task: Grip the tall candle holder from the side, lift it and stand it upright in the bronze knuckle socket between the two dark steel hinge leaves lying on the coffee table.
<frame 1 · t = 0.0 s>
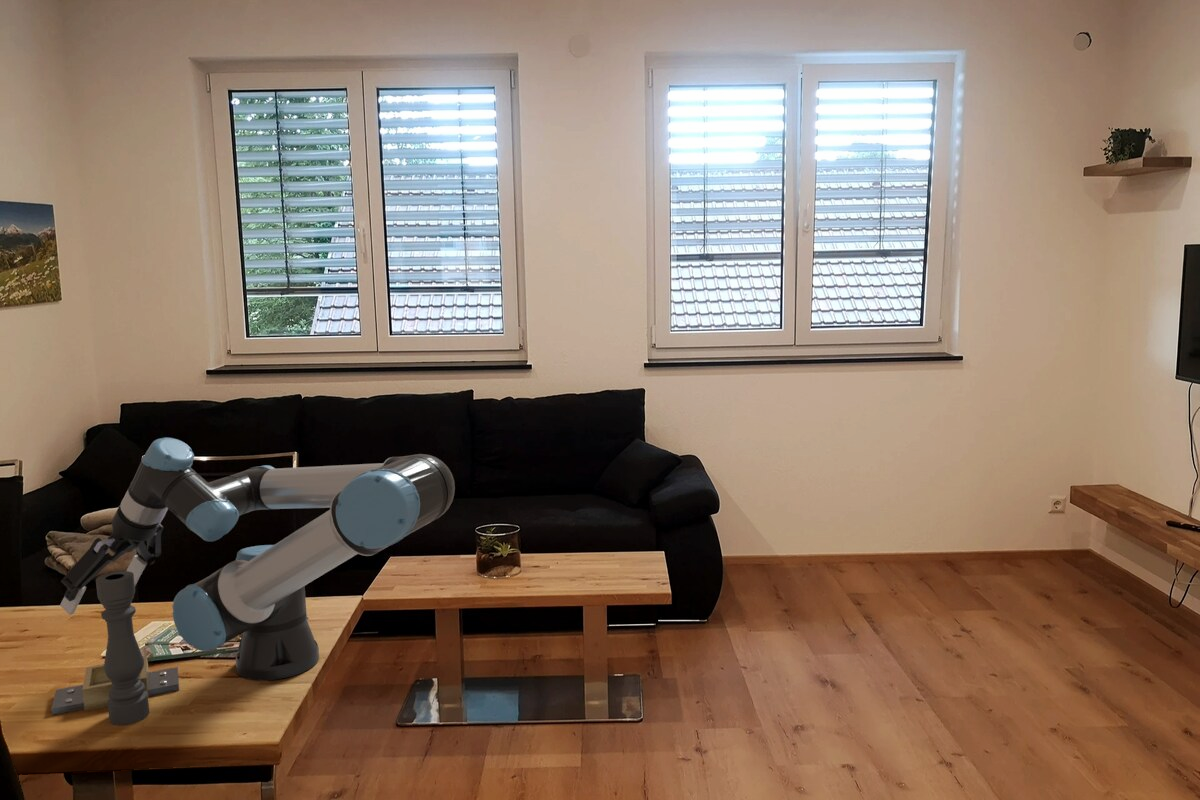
hand: (98, 596, 173), 15 cm above the table, tool tilted 35°, fingers open, 13 cm apart
candle holder: (129, 717, 159), on the table
hinge knuckle: (118, 693, 167), on the table
hard drive: (276, 623, 200), on the table
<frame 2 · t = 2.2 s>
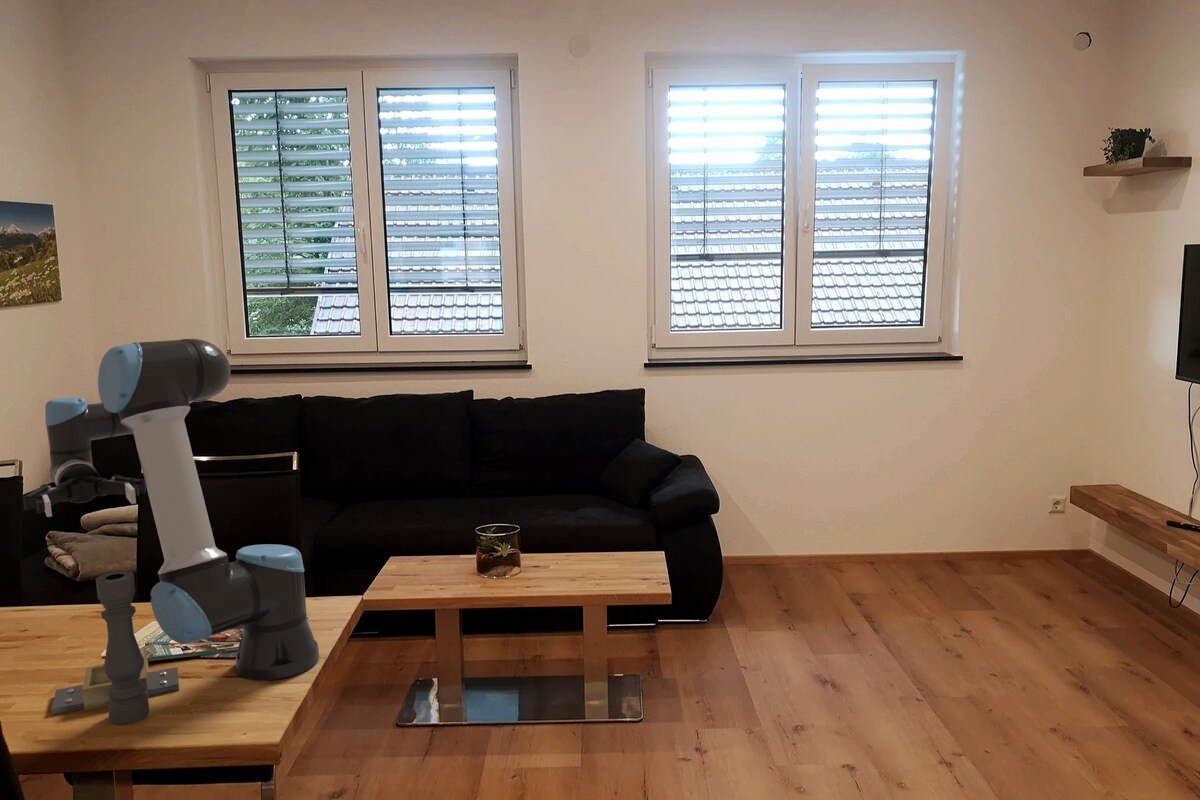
hand: (91, 502, 168), 34 cm above the table, tool horizontal, fingers open, 13 cm apart
nothing on the table moved.
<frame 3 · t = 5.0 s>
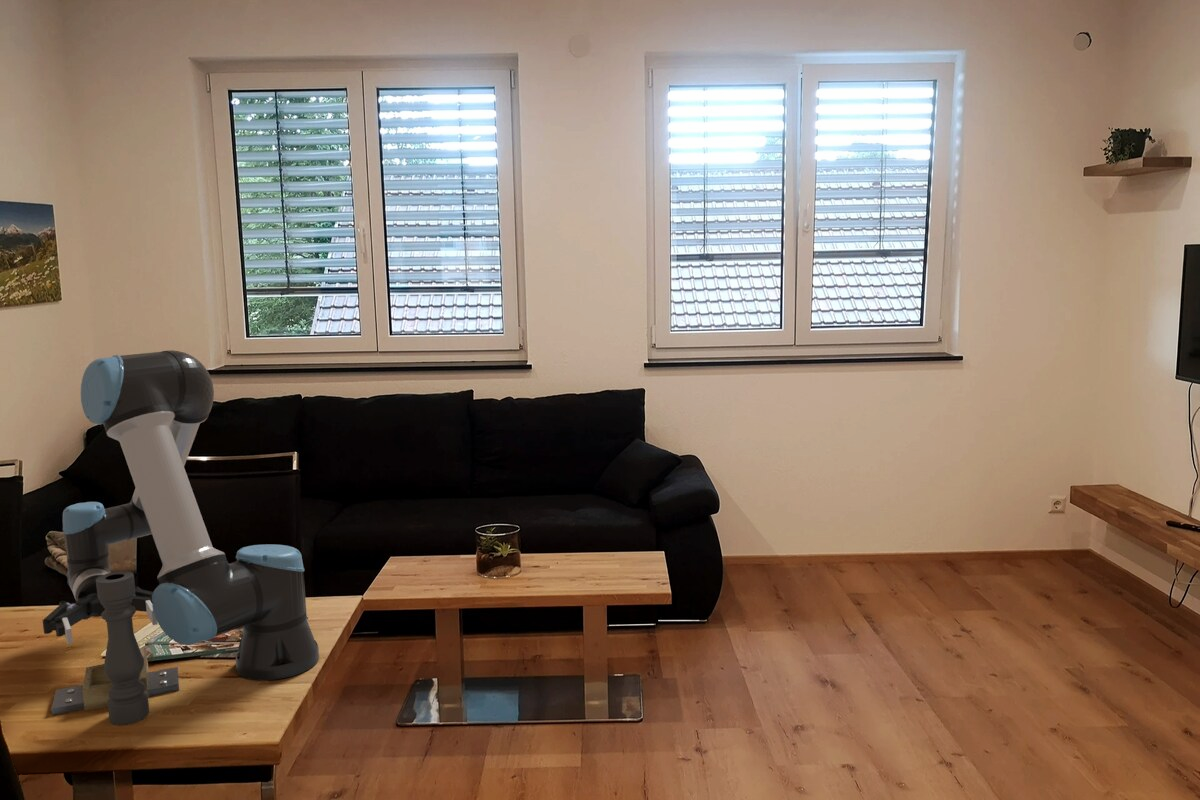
hand: (113, 627, 164), 13 cm above the table, tool horizontal, fingers open, 13 cm apart
nothing on the table moved.
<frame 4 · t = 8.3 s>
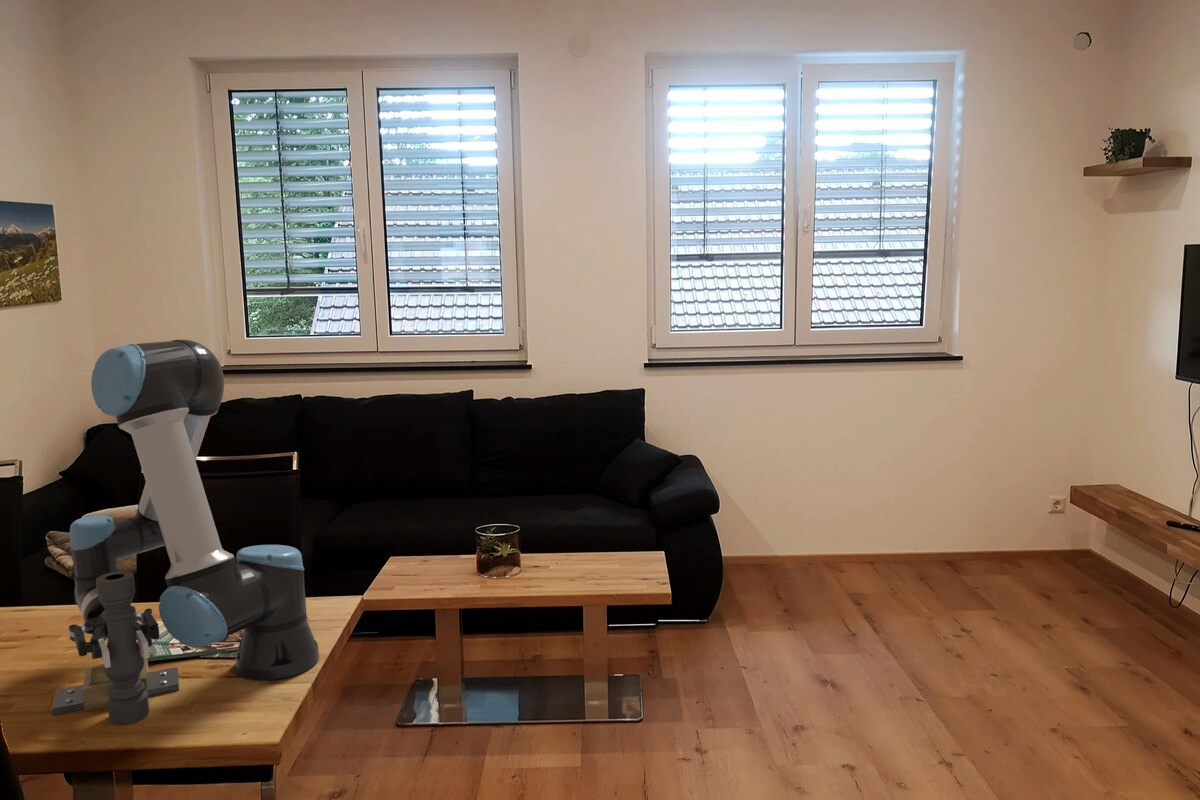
hand: (126, 655, 152), 13 cm above the table, tool horizontal, fingers closed on candle holder, 5 cm apart
candle holder: (129, 717, 159), on the table, touching gripper
everything else where it was.
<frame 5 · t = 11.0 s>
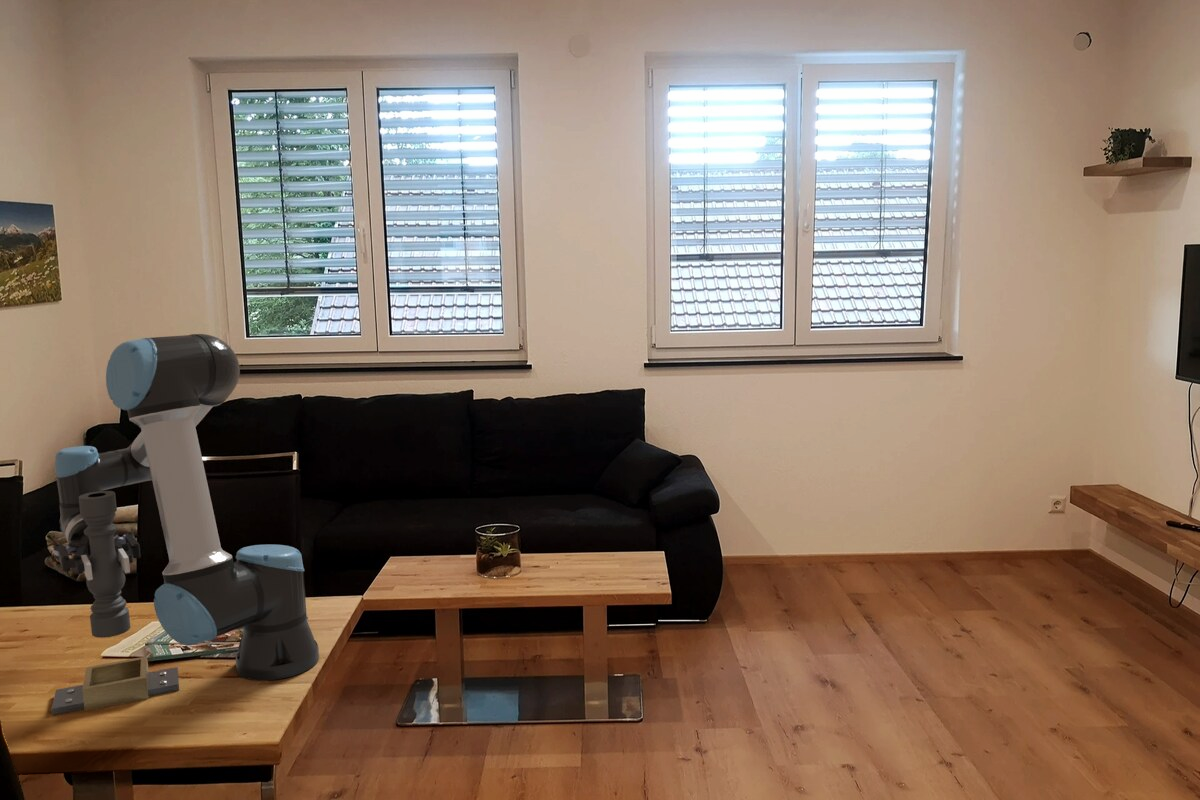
hand: (108, 568, 159), 25 cm above the table, tool horizontal, fingers closed on candle holder, 5 cm apart
candle holder: (111, 631, 165), point 12 cm above the table, touching gripper
everything else where it was.
when the fingers open (14 cm above the table, at t = 13.8 s): candle holder drops 1 cm, resting in hinge knuckle.
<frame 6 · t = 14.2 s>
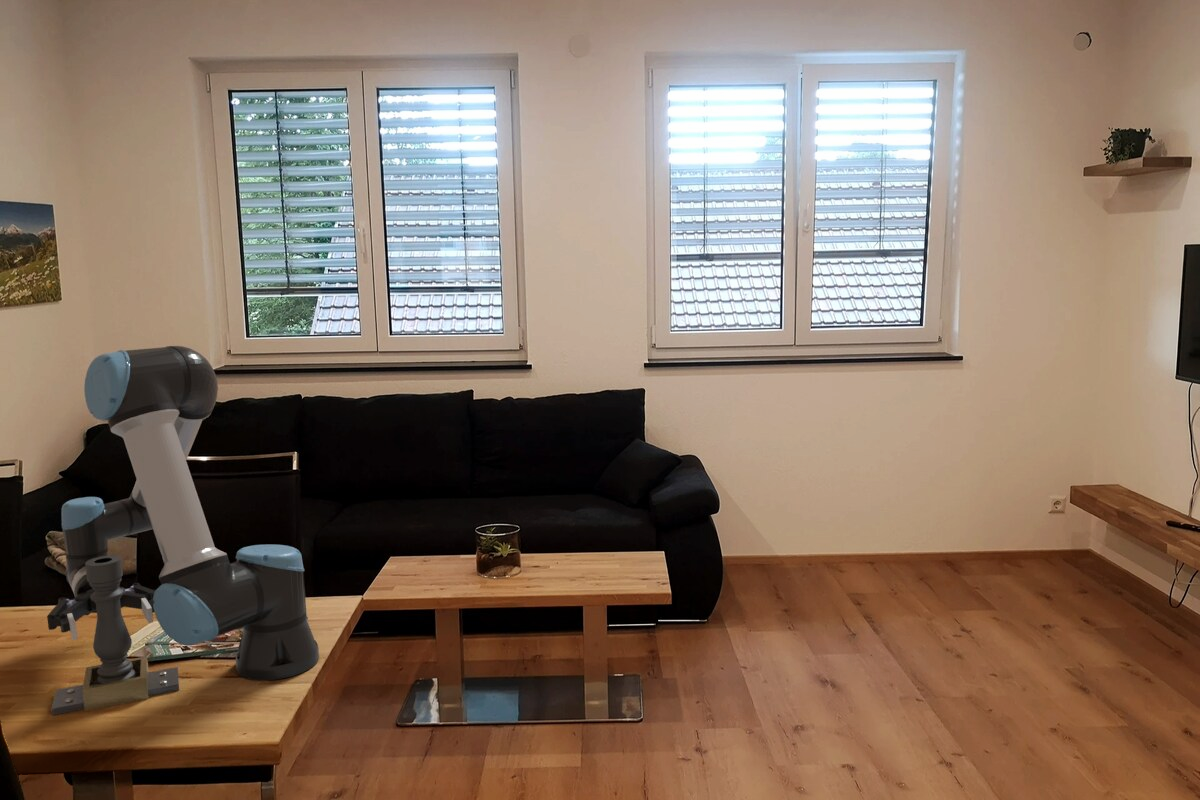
hand: (113, 623, 162), 14 cm above the table, tool horizontal, fingers open, 11 cm apart
candle holder: (118, 694, 167), resting in hinge knuckle
everything else where it was.
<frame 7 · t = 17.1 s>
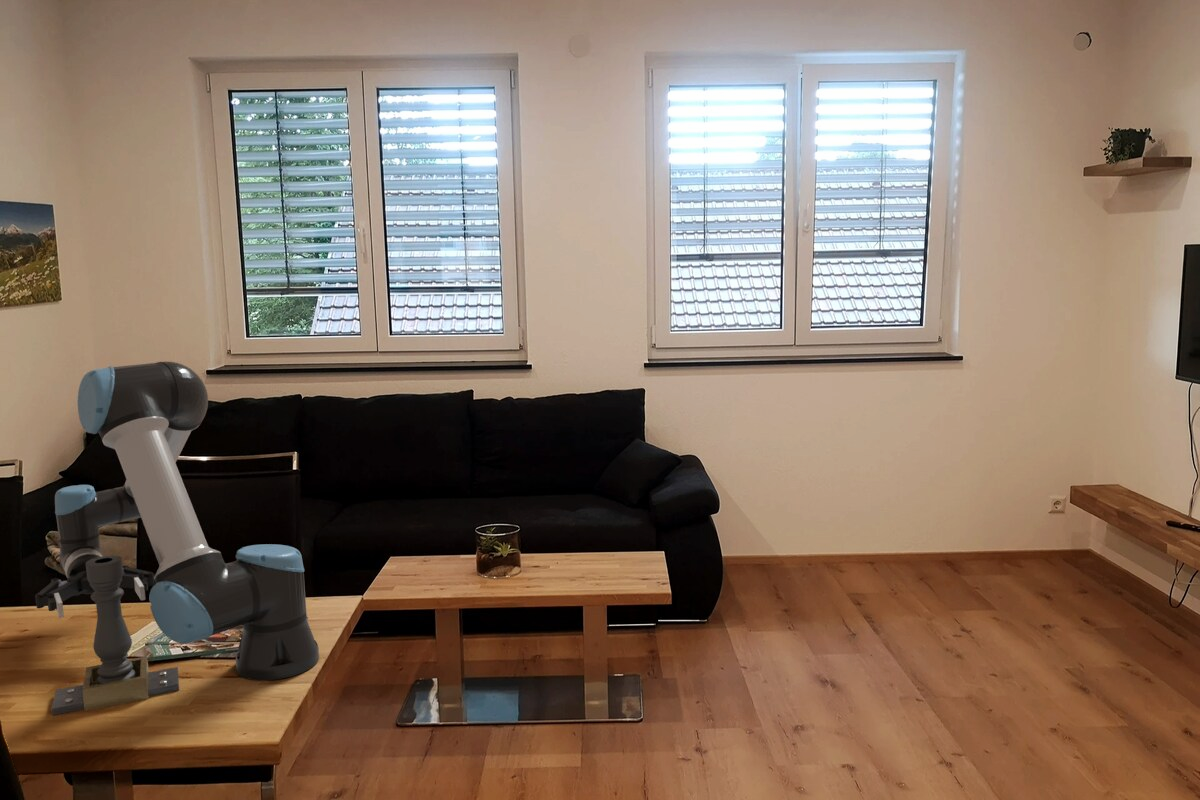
hand: (102, 601, 172), 15 cm above the table, tool horizontal, fingers open, 13 cm apart
nothing on the table moved.
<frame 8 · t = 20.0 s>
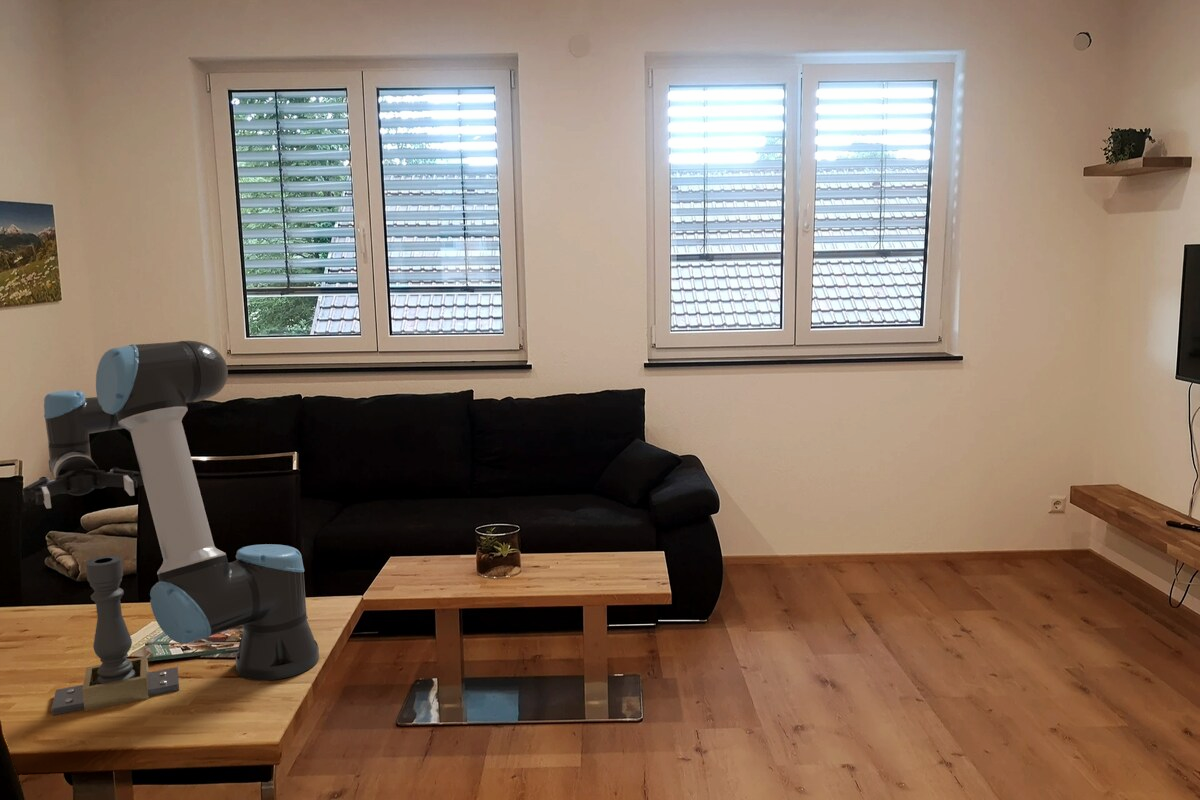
hand: (90, 494, 170), 35 cm above the table, tool horizontal, fingers open, 13 cm apart
nothing on the table moved.
at the end: candle holder 0.1 cm off-centre on the hinge knuckle, point 0.0 cm above the hinge knuckle's base; candle holder tilted 0°; the gripper is holding nothing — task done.
